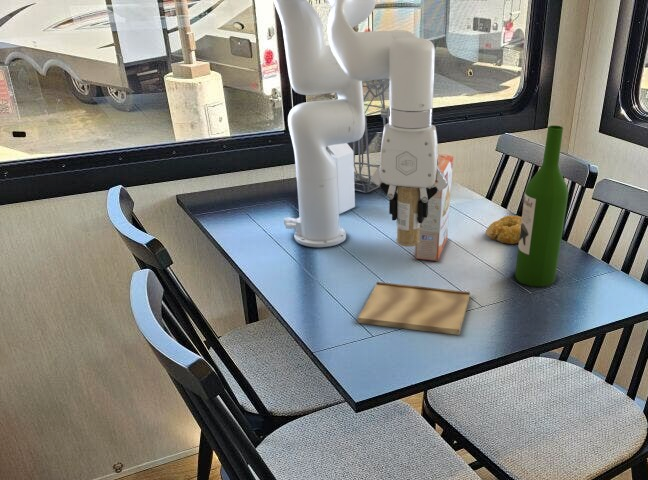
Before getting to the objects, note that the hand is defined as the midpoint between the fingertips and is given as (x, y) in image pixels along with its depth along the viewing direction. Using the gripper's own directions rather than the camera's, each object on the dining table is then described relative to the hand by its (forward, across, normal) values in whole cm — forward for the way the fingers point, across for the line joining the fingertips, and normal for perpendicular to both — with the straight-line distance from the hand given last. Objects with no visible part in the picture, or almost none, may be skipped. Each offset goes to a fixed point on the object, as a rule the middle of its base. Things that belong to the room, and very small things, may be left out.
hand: (408, 218), depth 128 cm
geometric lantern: (+19, -28, +71) cm, 79 cm away
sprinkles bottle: (+5, 0, 0) cm, 5 cm away
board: (+19, +2, 0) cm, 19 cm away
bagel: (+19, +17, +43) cm, 50 cm away
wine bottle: (+19, +25, +21) cm, 38 cm away
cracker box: (+19, 0, +31) cm, 36 cm away
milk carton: (+19, -30, +52) cm, 63 cm away
